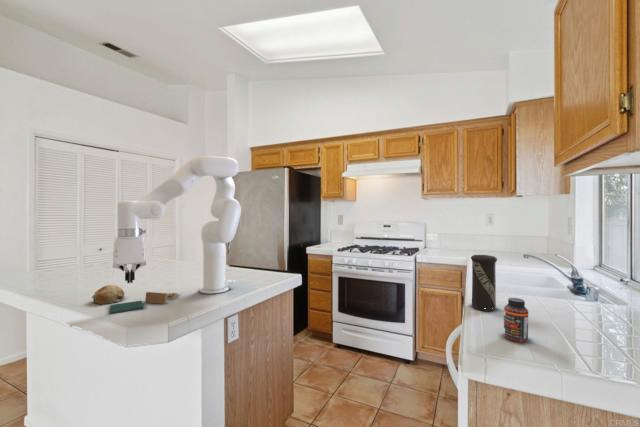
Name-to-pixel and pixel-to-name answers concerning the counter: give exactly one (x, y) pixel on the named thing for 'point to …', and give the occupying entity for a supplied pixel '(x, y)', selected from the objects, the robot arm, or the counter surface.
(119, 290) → the bread roll
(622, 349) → the counter surface
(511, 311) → the supplement bottle
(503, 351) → the counter surface
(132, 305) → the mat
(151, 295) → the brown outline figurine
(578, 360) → the counter surface
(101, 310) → the counter surface
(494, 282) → the container
